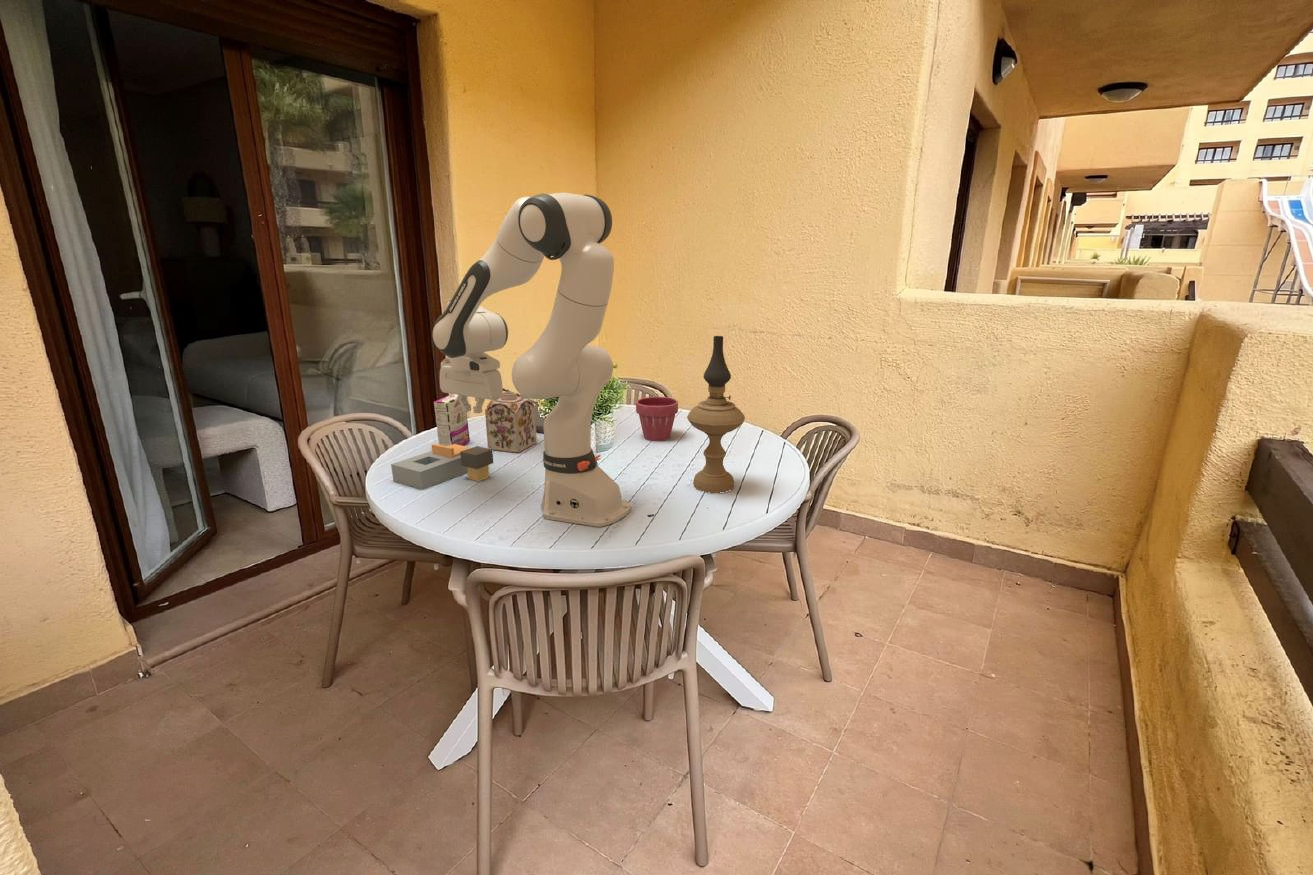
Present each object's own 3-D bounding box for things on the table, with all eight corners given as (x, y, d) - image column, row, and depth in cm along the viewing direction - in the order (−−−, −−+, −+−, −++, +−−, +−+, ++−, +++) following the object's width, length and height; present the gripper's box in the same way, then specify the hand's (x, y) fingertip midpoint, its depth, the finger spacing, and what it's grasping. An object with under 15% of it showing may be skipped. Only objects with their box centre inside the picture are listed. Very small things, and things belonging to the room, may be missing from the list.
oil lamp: (727, 500, 147) (733, 342, 135) (675, 489, 154) (677, 337, 143) (750, 482, 159) (757, 335, 148) (701, 472, 167) (705, 331, 155)
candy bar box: (456, 441, 195) (451, 393, 190) (470, 442, 194) (465, 394, 189) (438, 451, 185) (432, 401, 180) (452, 452, 184) (447, 402, 179)
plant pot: (629, 440, 196) (628, 403, 193) (646, 429, 209) (645, 394, 205) (668, 445, 191) (669, 407, 187) (683, 434, 204) (684, 398, 200)
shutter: (473, 450, 170) (472, 441, 169) (451, 457, 163) (450, 448, 163) (454, 445, 174) (453, 437, 173) (432, 453, 167) (431, 444, 166)
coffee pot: (564, 425, 214) (562, 385, 210) (558, 434, 203) (556, 392, 199) (507, 424, 215) (504, 384, 211) (498, 433, 204) (494, 391, 200)
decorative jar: (487, 450, 186) (482, 395, 181) (506, 439, 197) (502, 387, 192) (519, 453, 183) (515, 397, 177) (538, 443, 193) (535, 390, 188)
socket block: (479, 467, 170) (478, 451, 169) (422, 489, 154) (420, 472, 152) (451, 460, 176) (449, 444, 175) (393, 481, 160) (390, 464, 158)
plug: (494, 476, 164) (492, 449, 161) (478, 483, 159) (475, 455, 156) (479, 472, 166) (476, 446, 164) (462, 479, 161) (460, 451, 159)
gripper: (431, 359, 155) (436, 409, 159) (486, 365, 145) (491, 419, 149) (449, 356, 161) (455, 405, 165) (504, 362, 151) (508, 414, 155)
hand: (472, 411), depth 157 cm, fingers open, 3 cm apart
